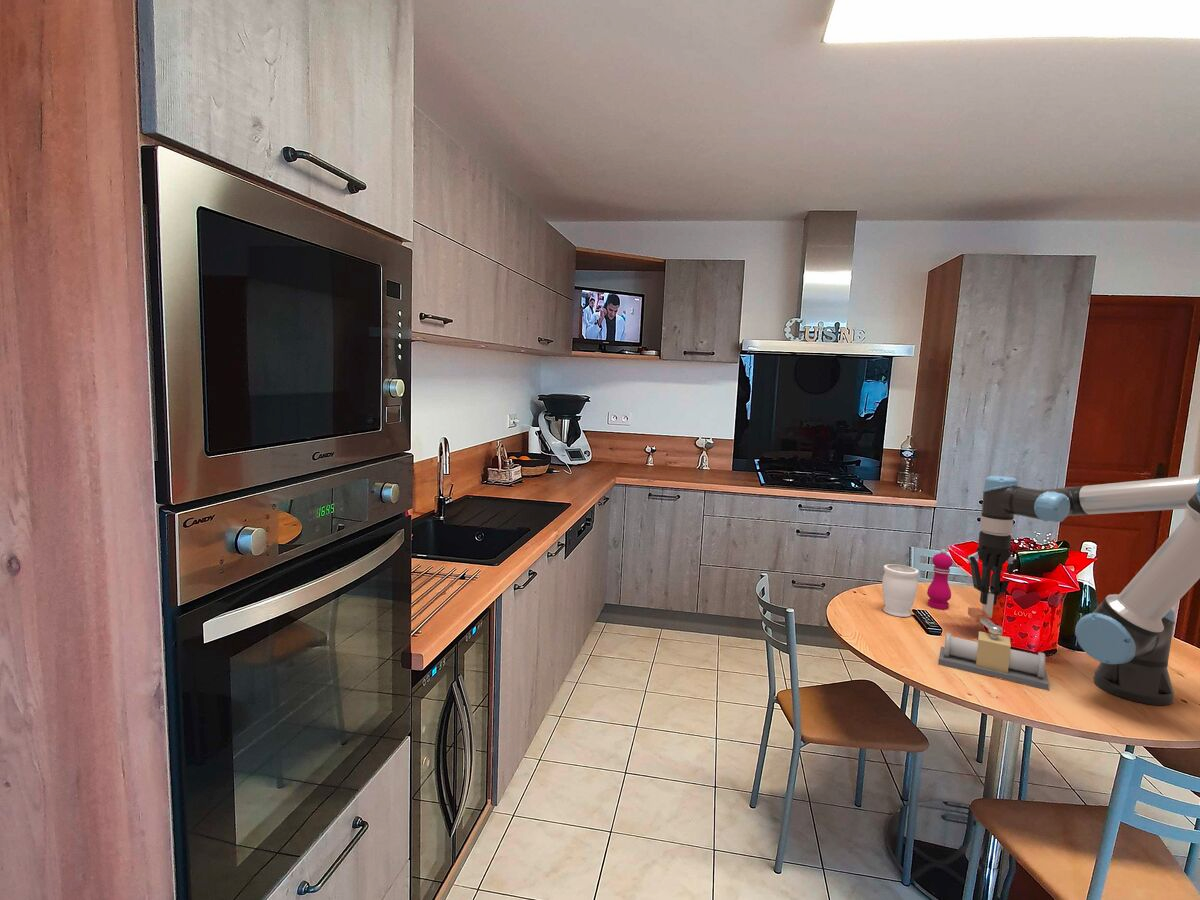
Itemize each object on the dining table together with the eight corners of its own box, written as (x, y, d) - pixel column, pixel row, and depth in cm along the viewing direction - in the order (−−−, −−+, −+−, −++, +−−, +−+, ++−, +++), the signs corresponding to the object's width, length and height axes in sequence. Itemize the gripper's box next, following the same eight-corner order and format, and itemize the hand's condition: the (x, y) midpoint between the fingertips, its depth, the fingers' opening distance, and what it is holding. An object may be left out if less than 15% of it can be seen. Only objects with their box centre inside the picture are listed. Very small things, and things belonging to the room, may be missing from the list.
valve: (1044, 675, 163) (1049, 638, 162) (1048, 690, 154) (1052, 652, 153) (940, 651, 175) (943, 617, 174) (938, 664, 166) (941, 628, 166)
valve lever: (1003, 636, 162) (1004, 628, 162) (991, 634, 162) (991, 627, 162) (979, 615, 177) (979, 608, 177) (967, 614, 178) (968, 607, 177)
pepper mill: (954, 610, 209) (960, 552, 207) (932, 609, 210) (938, 551, 208) (942, 603, 217) (948, 546, 215) (921, 602, 217) (927, 546, 215)
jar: (915, 621, 198) (919, 575, 197) (879, 614, 203) (883, 569, 201) (913, 610, 208) (918, 566, 206) (879, 605, 212) (883, 561, 211)
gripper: (1013, 530, 174) (1004, 612, 177) (964, 527, 176) (956, 608, 178) (1028, 537, 167) (1018, 622, 169) (977, 534, 168) (968, 618, 171)
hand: (986, 615), depth 174 cm, fingers closed
